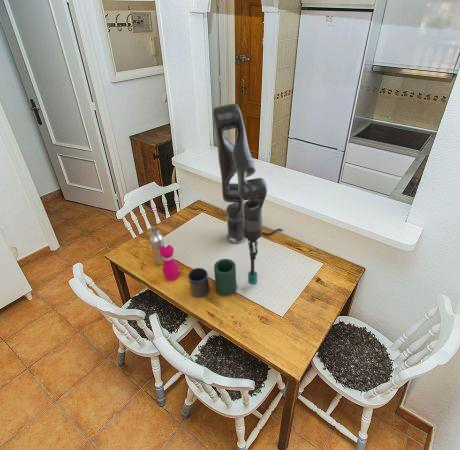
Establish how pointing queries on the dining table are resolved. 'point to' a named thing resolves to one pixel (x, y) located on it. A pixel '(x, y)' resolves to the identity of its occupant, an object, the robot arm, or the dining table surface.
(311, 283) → the dining table surface
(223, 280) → the green jar
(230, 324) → the dining table surface
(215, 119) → the robot arm
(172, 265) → the pepper mill
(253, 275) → the bottle brush
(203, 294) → the pot
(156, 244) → the silver metal bottle
